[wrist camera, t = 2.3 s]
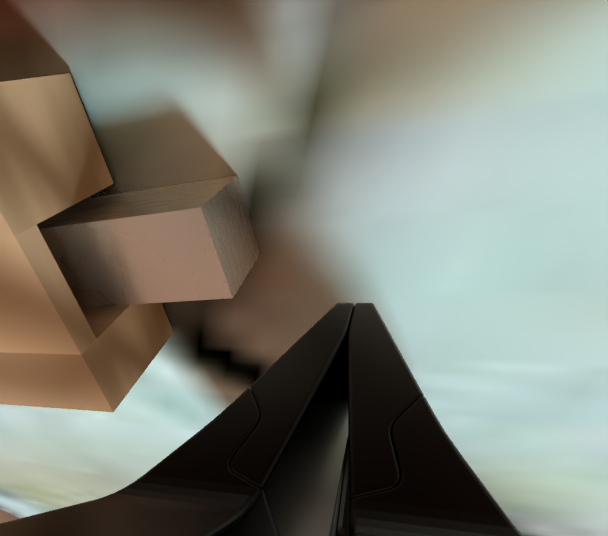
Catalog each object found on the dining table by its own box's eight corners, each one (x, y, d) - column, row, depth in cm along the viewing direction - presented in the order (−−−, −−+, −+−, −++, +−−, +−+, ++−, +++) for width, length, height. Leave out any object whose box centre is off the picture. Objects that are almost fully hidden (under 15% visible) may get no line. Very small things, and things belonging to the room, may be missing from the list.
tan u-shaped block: (173, 332, 18) (113, 411, 15) (68, 331, 20) (-11, 403, 16) (69, 73, 13) (-68, 90, 9) (-63, 98, 15) (-228, 122, 11)
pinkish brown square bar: (238, 174, 14) (200, 207, 11) (261, 252, 16) (232, 298, 13) (-100, 226, 19) (-182, 258, 16) (-59, 282, 21) (-127, 320, 18)
